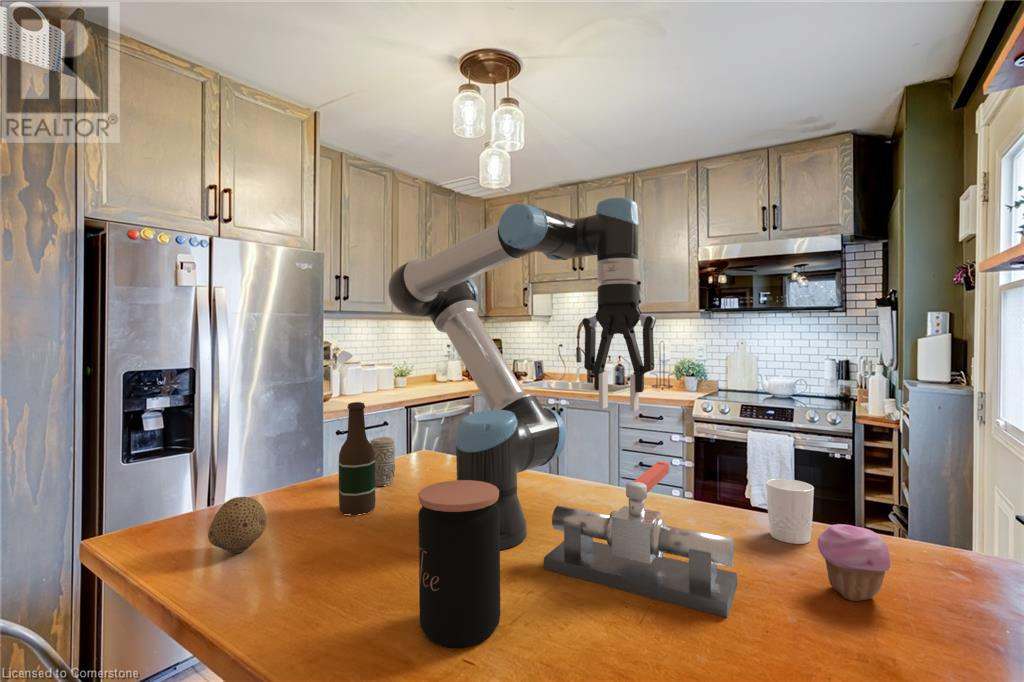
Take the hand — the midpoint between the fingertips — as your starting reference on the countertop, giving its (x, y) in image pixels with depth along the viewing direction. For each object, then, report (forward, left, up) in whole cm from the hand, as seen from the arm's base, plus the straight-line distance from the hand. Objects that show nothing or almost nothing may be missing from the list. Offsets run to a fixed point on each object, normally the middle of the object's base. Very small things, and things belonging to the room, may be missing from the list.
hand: (618, 408), depth 93 cm
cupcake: (+36, -1, -25) cm, 44 cm away
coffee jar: (-9, -37, -25) cm, 46 cm away
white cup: (+27, +18, -25) cm, 41 cm away
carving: (-66, +4, -25) cm, 71 cm away
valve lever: (+7, -4, -12) cm, 14 cm away
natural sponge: (-57, -39, -25) cm, 73 cm away
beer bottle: (-56, -13, -25) cm, 63 cm away
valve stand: (+7, -12, -25) cm, 28 cm away
